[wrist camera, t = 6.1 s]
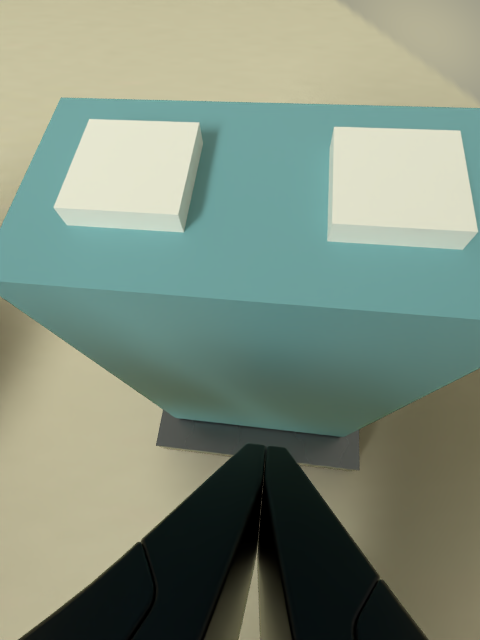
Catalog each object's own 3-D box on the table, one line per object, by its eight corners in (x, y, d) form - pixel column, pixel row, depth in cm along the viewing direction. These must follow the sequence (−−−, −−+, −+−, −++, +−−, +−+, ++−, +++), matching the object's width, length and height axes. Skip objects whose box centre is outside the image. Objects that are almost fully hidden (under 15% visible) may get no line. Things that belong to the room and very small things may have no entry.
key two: (352, 437, 13) (627, 316, 3) (175, 418, 13) (-45, 264, 4) (352, 355, 14) (549, 86, 4) (189, 340, 14) (49, 76, 5)
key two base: (349, 471, 14) (386, 468, 10) (166, 448, 14) (127, 437, 10) (349, 296, 17) (377, 237, 13) (196, 284, 17) (176, 224, 13)
